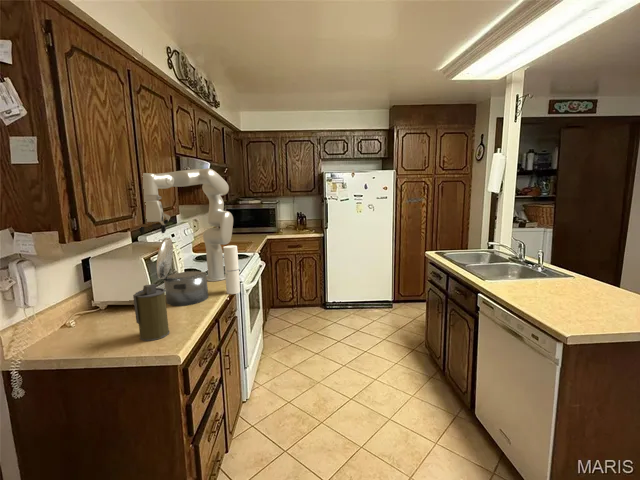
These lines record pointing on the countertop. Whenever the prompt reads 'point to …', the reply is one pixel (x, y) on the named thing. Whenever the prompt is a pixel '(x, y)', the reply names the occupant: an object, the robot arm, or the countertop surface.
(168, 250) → the cooker lid
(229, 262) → the cylindrical container
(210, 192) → the robot arm
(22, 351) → the countertop surface
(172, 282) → the cooker pot
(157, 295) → the canister
